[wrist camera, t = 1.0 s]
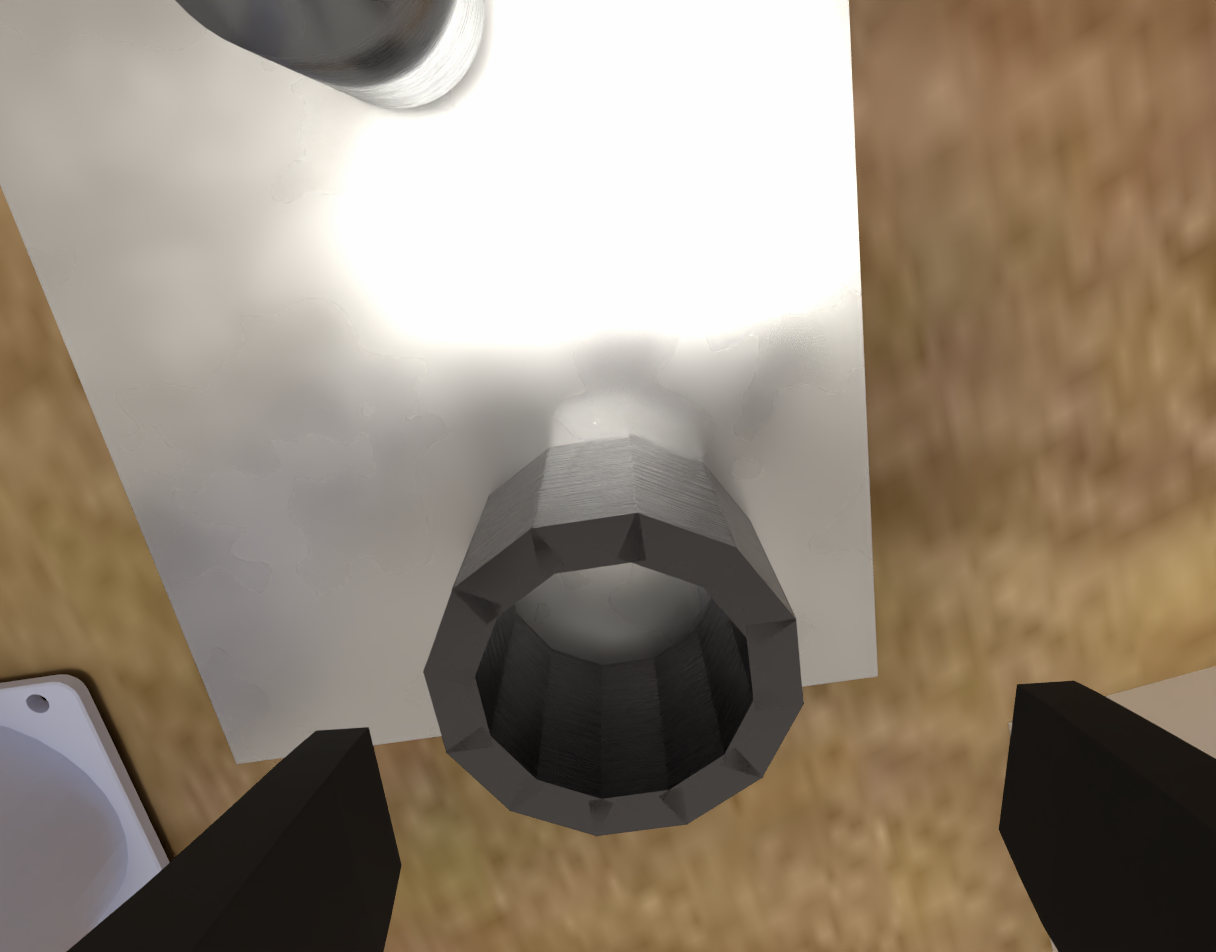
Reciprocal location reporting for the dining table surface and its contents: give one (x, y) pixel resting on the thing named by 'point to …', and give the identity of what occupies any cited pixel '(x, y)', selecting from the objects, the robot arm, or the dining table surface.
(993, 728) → the dining table surface
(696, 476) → the iron ring
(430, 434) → the post stand
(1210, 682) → the milk
